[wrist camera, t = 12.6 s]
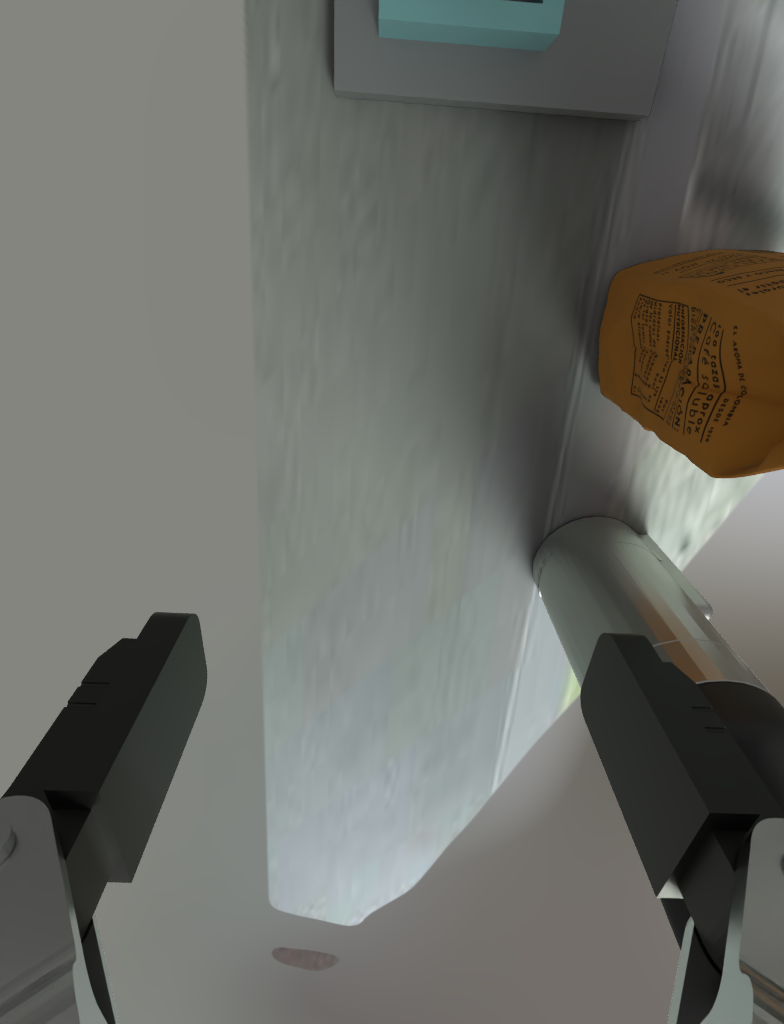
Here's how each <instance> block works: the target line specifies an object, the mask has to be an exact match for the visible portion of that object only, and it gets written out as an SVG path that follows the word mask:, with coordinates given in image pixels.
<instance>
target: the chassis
mask: <svg viewBox="0 0 784 1024" xmlns="http://www.w3.org/2000/svg"><path fill="white" fill-rule="evenodd" d="M677 1H678V0H334V92H335V95H336V97H341V98H354V99H366V100H379V101H391V102H404V103H416V104H429V105H441V106H454V107H466V108H479V109H491V110H504V111H516V112H529V113H541V114H554V115H566V116H579V117H591V118H604V119H616V120H629V121H639V120H641V119H643V118H646V117H648V116H650V112H651V108H652V104H653V100H654V96H655V91H656V87H657V83H658V79H659V75H660V71H661V67H662V63H663V59H664V55H665V50H666V46H667V42H668V38H669V34H670V30H671V26H672V22H673V18H674V14H675V9H676V5H677Z"/></svg>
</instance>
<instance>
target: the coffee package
mask: <svg viewBox="0 0 784 1024" xmlns="http://www.w3.org/2000/svg"><path fill="white" fill-rule="evenodd" d="M598 372H599V378H600V390H601V393H602V395H603V396H605V397H606V398H608V399H610V400H611V401H612V402H613V403H615V404H616V405H618V406H619V407H620V408H621V410H622V411H624V412H626V413H627V414H629V415H630V416H631V417H632V418H633V419H635V420H636V421H638V422H639V423H640V424H641V425H642V427H643V428H644V429H645V430H648V431H653V432H654V433H655V434H656V435H657V436H658V438H659V439H660V440H662V441H663V442H665V443H666V444H668V445H669V446H671V447H672V448H674V449H675V450H677V451H678V452H680V453H682V454H683V455H685V456H686V457H687V458H688V459H689V460H690V461H691V462H692V463H693V464H695V465H696V466H697V467H699V468H700V469H701V470H703V471H704V472H705V473H707V474H708V475H709V476H711V477H714V478H737V477H745V476H751V475H756V474H761V473H766V472H771V471H776V470H781V469H784V253H779V252H773V251H761V250H729V249H719V250H704V251H698V252H693V253H687V254H681V255H675V256H670V257H666V258H663V259H658V260H654V261H650V262H645V263H642V264H638V265H635V266H632V267H629V268H626V269H623V270H621V271H619V272H618V273H617V274H616V275H615V276H614V278H613V280H612V282H611V284H610V287H609V293H608V299H607V304H606V308H605V312H604V315H603V320H602V324H601V328H600V335H599V358H598Z"/></svg>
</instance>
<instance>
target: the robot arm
mask: <svg viewBox="0 0 784 1024" xmlns="http://www.w3.org/2000/svg"><path fill="white" fill-rule="evenodd" d="M533 577H534V581H535V583H536V586H537V588H538V591H539V594H540V597H541V598H542V600H543V602H544V604H545V607H546V609H547V612H548V614H549V616H550V619H551V621H552V623H553V625H554V628H555V630H556V632H557V635H558V637H559V639H560V641H561V644H562V646H563V648H564V651H565V653H566V655H567V657H568V660H569V662H570V664H571V667H572V669H573V671H574V673H575V676H576V678H577V680H578V683H579V685H580V687H581V708H582V713H583V717H584V719H585V722H586V724H587V726H588V729H589V731H590V734H591V736H592V739H593V741H594V744H595V746H596V749H597V751H598V754H599V757H600V759H601V761H602V764H603V766H604V768H605V771H606V774H607V776H608V779H609V781H610V784H611V786H612V789H613V791H614V794H615V796H616V798H617V801H618V803H619V806H620V808H621V811H622V813H623V816H624V818H625V821H626V823H627V826H628V828H629V830H630V833H631V835H632V838H633V841H634V843H635V846H636V848H637V850H638V853H639V855H640V858H641V860H642V863H643V865H644V868H645V870H646V873H647V875H648V878H649V880H650V883H651V885H652V888H653V890H654V893H655V895H656V897H657V898H660V899H661V902H662V904H663V907H664V909H665V912H666V915H667V917H668V919H669V922H670V925H671V927H672V929H673V932H674V935H675V937H676V940H677V942H678V945H679V947H680V950H681V953H680V959H679V964H678V969H677V974H676V979H675V985H674V990H673V995H672V1001H671V1006H670V1011H669V1016H668V1022H667V1024H784V708H783V707H782V706H781V704H780V703H779V702H778V701H777V700H776V699H775V698H774V697H773V696H772V694H771V693H770V692H769V691H768V690H767V688H766V687H765V686H764V685H763V684H762V682H761V681H760V680H759V679H758V678H757V677H756V675H755V674H754V673H753V672H752V671H751V669H750V668H749V667H748V666H747V665H746V664H745V662H744V661H743V660H742V659H741V658H740V657H739V656H738V654H737V653H736V652H735V651H734V650H733V649H732V647H731V646H730V645H729V644H728V643H727V641H726V640H725V639H724V638H723V637H722V636H721V634H720V633H719V632H718V631H717V630H716V628H715V627H714V626H713V625H712V624H711V622H710V619H711V617H712V615H713V609H712V607H711V605H710V604H709V603H708V602H707V601H706V600H705V599H704V597H703V596H702V595H701V594H700V593H699V592H698V591H697V589H696V588H695V587H694V586H693V585H692V584H691V583H690V582H689V580H688V579H687V578H686V577H685V576H684V575H683V574H682V573H681V571H680V570H679V569H678V568H677V567H676V566H675V565H674V563H673V562H672V561H671V560H670V559H669V558H668V557H667V556H666V554H665V553H664V552H663V551H662V550H661V549H660V548H659V547H658V545H657V544H656V543H655V542H654V541H653V540H652V539H651V537H650V536H649V535H642V534H637V533H636V532H634V531H633V530H632V529H631V528H630V527H629V526H628V525H626V524H624V523H622V522H620V521H619V520H616V519H612V518H608V517H589V518H582V519H579V520H576V521H572V522H570V523H568V524H566V525H564V526H562V527H560V528H559V529H557V530H556V531H555V532H553V533H552V534H551V535H550V536H549V537H548V538H547V539H546V540H545V541H544V542H543V543H542V545H541V546H540V548H539V550H538V551H537V553H536V556H535V559H534V561H533ZM206 684H207V667H206V661H205V654H204V648H203V641H202V635H201V629H200V622H199V619H198V616H197V615H196V614H189V613H164V612H156V613H154V614H153V615H152V616H151V617H150V618H149V620H148V621H147V623H146V625H145V626H144V628H143V630H142V631H141V633H140V634H139V636H138V638H137V639H128V638H123V639H121V640H120V641H119V642H117V643H116V644H115V645H114V646H112V647H111V648H110V649H108V650H107V651H106V652H105V653H103V654H102V655H101V656H100V657H98V658H97V660H96V661H95V663H94V664H93V666H92V667H91V669H90V670H89V672H88V673H87V675H86V676H85V678H84V679H83V680H82V684H81V686H80V687H78V688H77V689H76V691H75V692H74V694H73V695H72V696H71V698H70V699H69V701H68V705H67V707H64V708H63V710H62V711H61V713H60V714H59V716H58V717H57V719H56V720H55V722H54V723H53V725H52V726H51V728H50V729H49V730H48V732H47V733H46V735H45V736H44V738H43V739H42V741H41V742H40V744H39V745H38V746H37V748H36V750H35V751H34V752H33V754H32V755H31V757H30V758H29V760H28V761H27V763H26V764H25V766H24V767H23V768H22V770H21V771H20V773H19V774H18V776H17V777H16V779H15V780H14V782H13V783H12V785H11V786H10V787H9V789H8V790H7V791H6V793H5V794H4V795H3V796H2V797H1V798H0V1024H120V1021H119V1017H118V1013H117V1008H116V1004H115V999H114V995H113V990H112V986H111V981H110V977H109V972H108V968H107V964H106V959H105V955H104V950H103V946H102V941H101V937H100V933H99V928H98V923H97V919H96V915H95V909H96V907H97V904H98V902H99V900H100V898H101V895H102V893H103V891H104V888H105V886H106V884H107V882H124V883H125V882H126V883H127V882H128V883H129V882H130V883H131V882H132V880H133V877H134V874H135V872H136V870H137V867H138V865H139V862H140V860H141V857H142V855H143V852H144V850H145V847H146V844H147V842H148V839H149V837H150V834H151V832H152V829H153V827H154V824H155V822H156V819H157V817H158V814H159V812H160V809H161V806H162V804H163V801H164V799H165V796H166V794H167V791H168V789H169V786H170V784H171V781H172V778H173V776H174V773H175V771H176V768H177V766H178V763H179V761H180V758H181V756H182V753H183V750H184V748H185V746H186V743H187V740H188V738H189V735H190V733H191V730H192V728H193V725H194V722H195V720H196V718H197V715H198V712H199V710H200V707H201V705H202V702H203V699H204V695H205V691H206Z"/></svg>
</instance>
